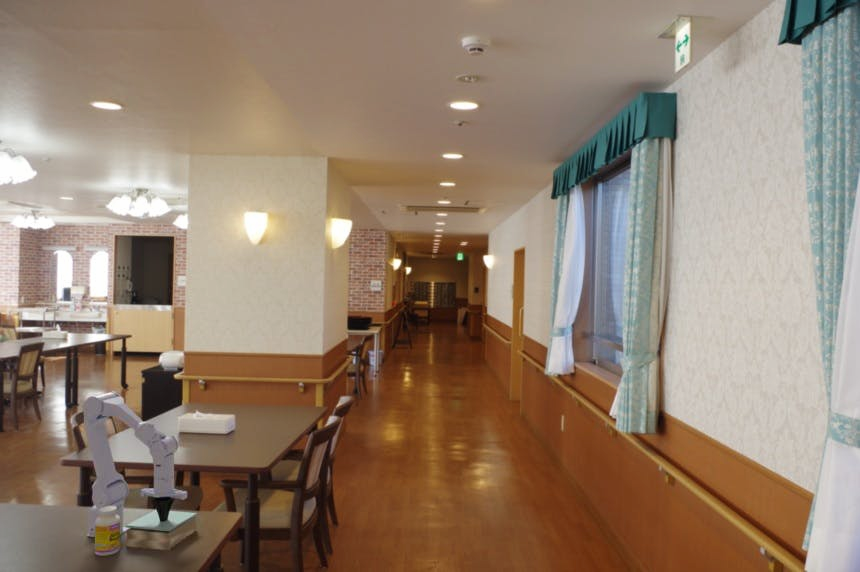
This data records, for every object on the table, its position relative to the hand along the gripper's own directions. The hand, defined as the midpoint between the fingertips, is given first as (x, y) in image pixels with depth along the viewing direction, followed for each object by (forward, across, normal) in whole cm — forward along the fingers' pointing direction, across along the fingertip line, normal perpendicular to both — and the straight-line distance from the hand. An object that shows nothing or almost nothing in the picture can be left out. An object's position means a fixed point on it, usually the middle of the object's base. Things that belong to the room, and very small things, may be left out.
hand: (163, 520), depth 197 cm
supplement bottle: (+6, -11, -11) cm, 17 cm away
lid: (+1, -1, +1) cm, 2 cm away
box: (+6, -1, +1) cm, 6 cm away
